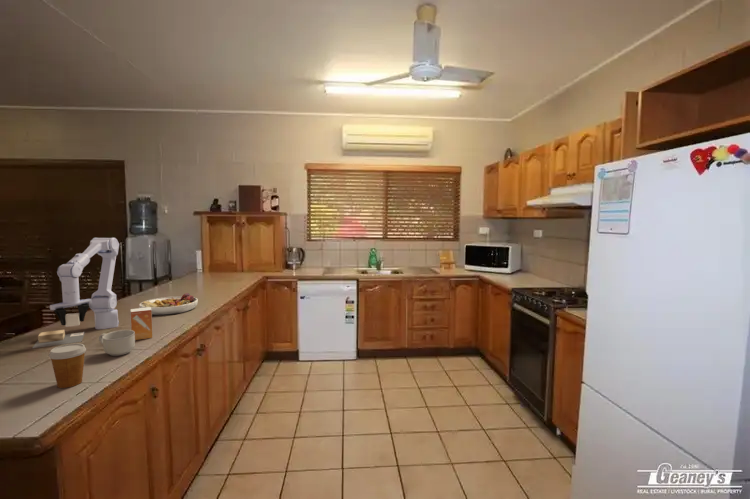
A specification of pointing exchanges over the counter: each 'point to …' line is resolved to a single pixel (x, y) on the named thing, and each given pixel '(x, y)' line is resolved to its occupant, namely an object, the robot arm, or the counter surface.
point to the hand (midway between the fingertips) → (72, 323)
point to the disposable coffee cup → (68, 364)
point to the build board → (67, 339)
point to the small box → (141, 322)
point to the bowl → (170, 304)
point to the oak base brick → (51, 336)
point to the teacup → (118, 342)
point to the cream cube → (72, 319)
